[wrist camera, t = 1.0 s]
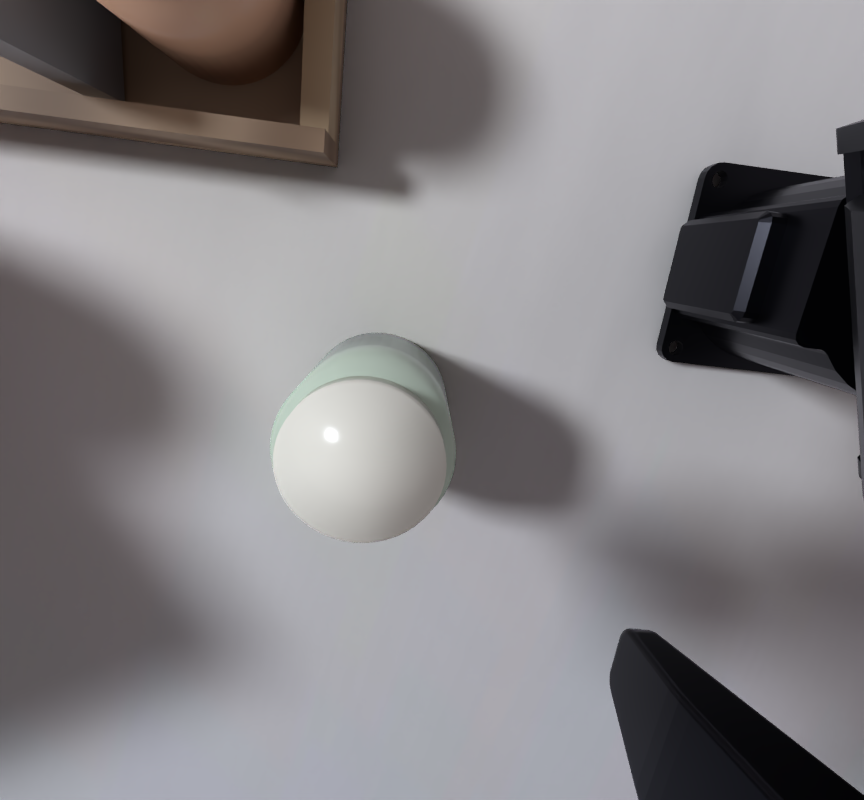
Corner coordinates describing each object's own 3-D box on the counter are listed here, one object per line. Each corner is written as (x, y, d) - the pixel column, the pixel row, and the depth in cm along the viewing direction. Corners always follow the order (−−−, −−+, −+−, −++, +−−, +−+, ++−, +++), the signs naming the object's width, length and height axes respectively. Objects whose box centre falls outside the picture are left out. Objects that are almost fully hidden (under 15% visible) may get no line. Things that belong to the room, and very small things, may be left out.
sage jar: (453, 341, 18) (471, 383, 12) (437, 467, 19) (445, 560, 13) (314, 325, 17) (262, 360, 12) (307, 454, 19) (258, 544, 13)
